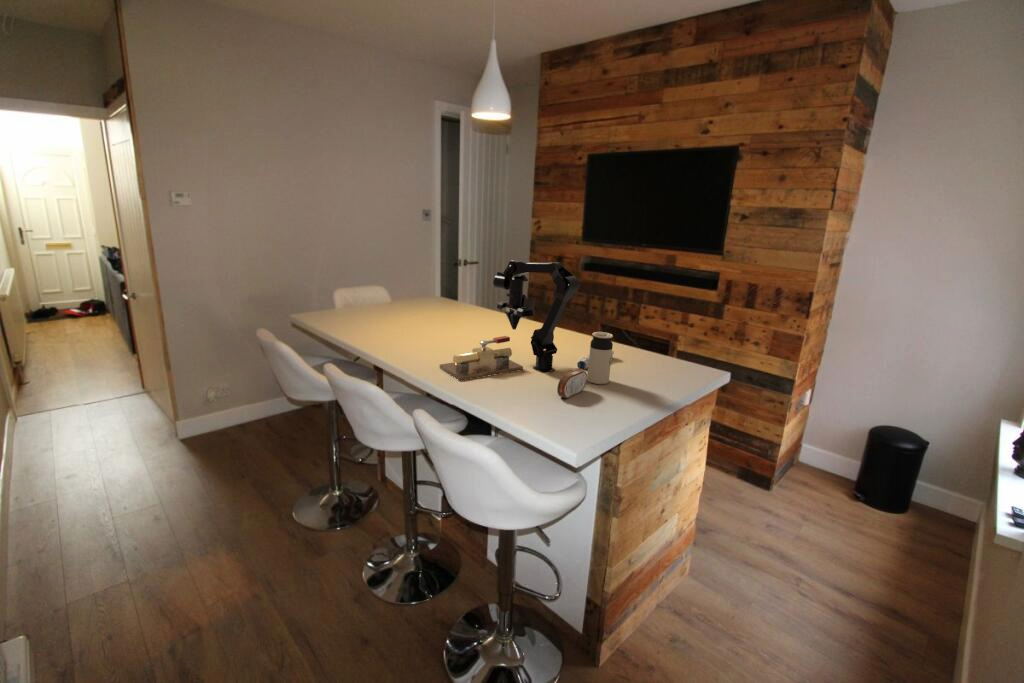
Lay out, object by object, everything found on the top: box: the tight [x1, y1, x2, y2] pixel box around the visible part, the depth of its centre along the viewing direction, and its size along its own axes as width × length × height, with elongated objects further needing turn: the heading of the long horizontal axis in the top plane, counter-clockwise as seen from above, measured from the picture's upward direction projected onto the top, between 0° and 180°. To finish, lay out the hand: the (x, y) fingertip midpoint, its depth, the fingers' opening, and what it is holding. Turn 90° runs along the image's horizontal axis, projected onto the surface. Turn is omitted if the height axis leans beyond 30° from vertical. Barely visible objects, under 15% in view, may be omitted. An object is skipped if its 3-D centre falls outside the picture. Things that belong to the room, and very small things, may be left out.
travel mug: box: [586, 331, 614, 385], centre depth 177 cm, size 8×8×18 cm
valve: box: [439, 345, 524, 382], centre depth 185 cm, size 16×28×10 cm, turn 124°
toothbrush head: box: [576, 350, 614, 371], centre depth 201 cm, size 5×7×25 cm
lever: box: [479, 335, 511, 346], centre depth 186 cm, size 14×3×2 cm, turn 133°
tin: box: [557, 368, 588, 399], centre depth 164 cm, size 15×3×8 cm, turn 141°
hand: (514, 329), depth 197 cm, fingers closed
